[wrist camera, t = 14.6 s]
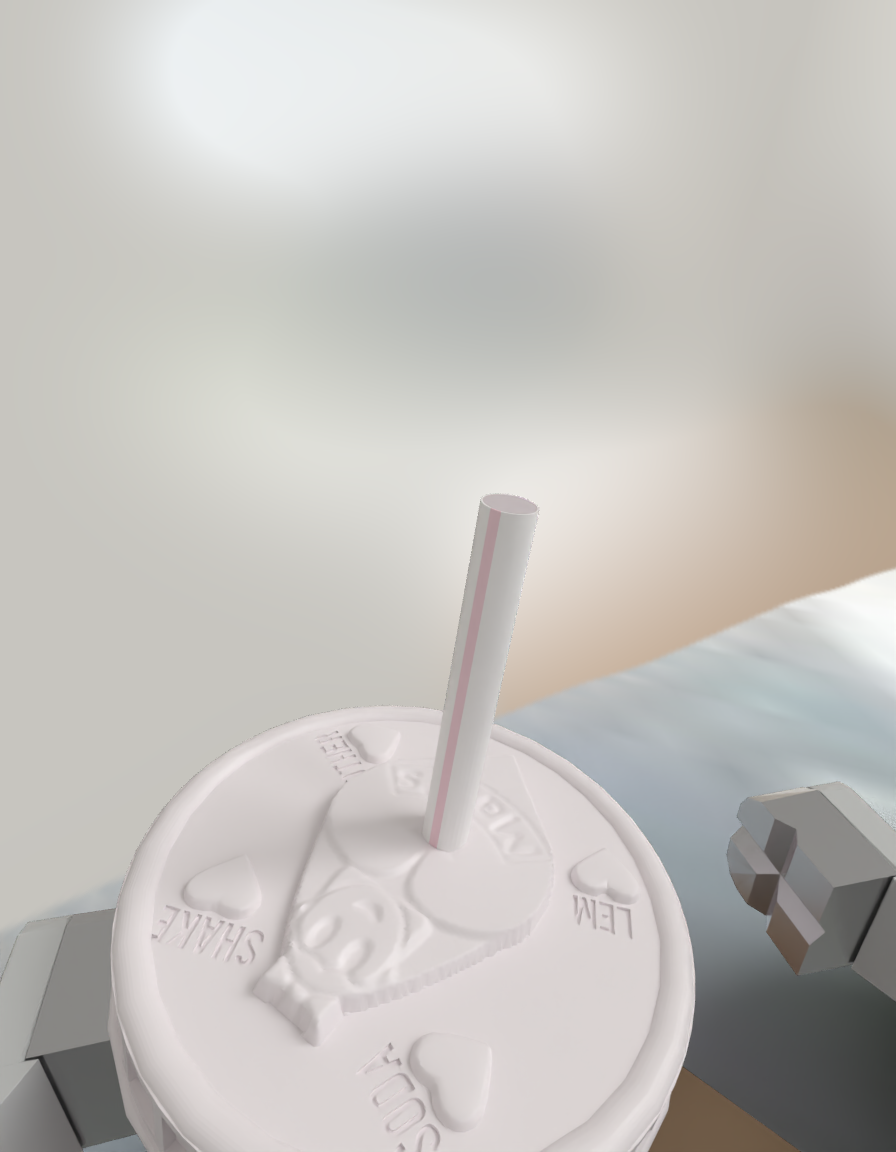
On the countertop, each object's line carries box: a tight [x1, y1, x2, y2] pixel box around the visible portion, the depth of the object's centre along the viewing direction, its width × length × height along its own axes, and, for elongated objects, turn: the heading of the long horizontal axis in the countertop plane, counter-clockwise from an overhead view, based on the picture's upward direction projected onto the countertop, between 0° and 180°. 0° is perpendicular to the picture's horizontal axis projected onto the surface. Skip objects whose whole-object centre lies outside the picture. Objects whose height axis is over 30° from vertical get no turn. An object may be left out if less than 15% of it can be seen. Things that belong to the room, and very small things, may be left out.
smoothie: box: [108, 493, 695, 1152], centre depth 9 cm, size 6×6×14 cm
